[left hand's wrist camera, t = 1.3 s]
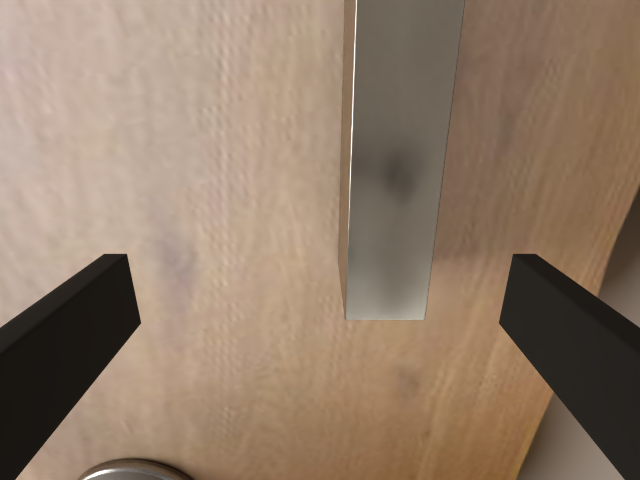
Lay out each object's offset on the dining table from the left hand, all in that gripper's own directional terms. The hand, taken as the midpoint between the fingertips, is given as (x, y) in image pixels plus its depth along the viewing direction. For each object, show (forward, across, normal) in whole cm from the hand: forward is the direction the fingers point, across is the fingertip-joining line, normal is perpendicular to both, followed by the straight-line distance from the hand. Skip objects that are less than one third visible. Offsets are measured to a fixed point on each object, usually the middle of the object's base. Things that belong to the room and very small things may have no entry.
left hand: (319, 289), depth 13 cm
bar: (+17, -4, -4) cm, 18 cm away
